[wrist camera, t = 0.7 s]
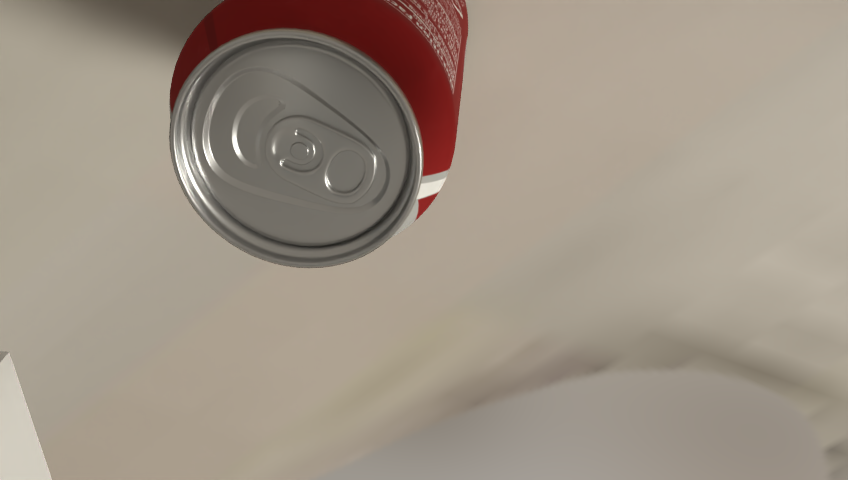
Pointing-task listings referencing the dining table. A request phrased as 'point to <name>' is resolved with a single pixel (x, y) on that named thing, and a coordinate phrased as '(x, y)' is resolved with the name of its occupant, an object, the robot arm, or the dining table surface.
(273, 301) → the dining table surface
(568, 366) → the dining table surface
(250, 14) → the soda can
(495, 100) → the dining table surface
